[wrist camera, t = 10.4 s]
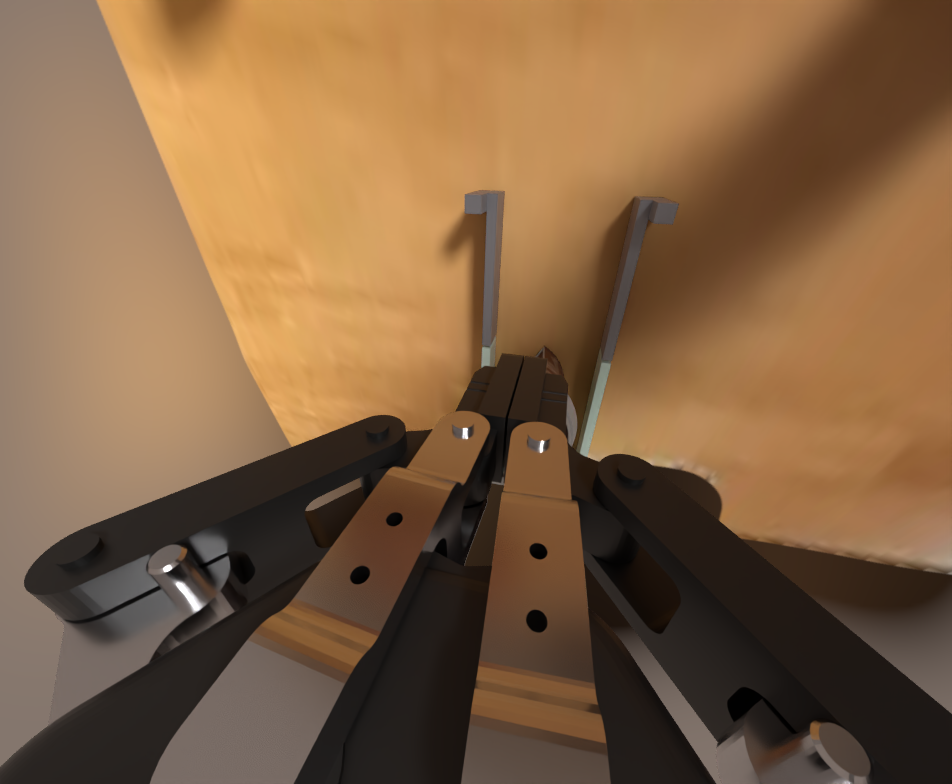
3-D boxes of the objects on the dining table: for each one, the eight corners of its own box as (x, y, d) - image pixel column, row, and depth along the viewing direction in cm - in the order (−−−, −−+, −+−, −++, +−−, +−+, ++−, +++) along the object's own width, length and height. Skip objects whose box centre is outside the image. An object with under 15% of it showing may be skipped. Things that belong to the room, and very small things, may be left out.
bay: (663, 197, 27) (678, 203, 23) (622, 348, 33) (629, 373, 29) (480, 190, 29) (464, 194, 25) (476, 331, 36) (464, 352, 32)
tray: (608, 349, 34) (611, 364, 31) (579, 467, 42) (579, 486, 40) (488, 335, 36) (482, 348, 33) (483, 450, 44) (477, 467, 42)
